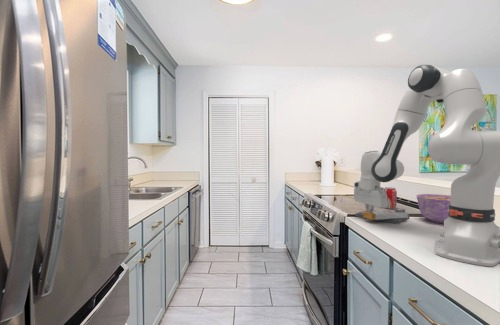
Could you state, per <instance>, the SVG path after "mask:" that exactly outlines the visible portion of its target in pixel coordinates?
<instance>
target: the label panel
mask: <svg viewBox="0 0 500 325" xmlns="http://www.w3.org/2000/svg"><path fill="white" fill-rule="evenodd" d="M363 211H366V209H365V210H362V211H359V212H356V213H355V215H354V217H356V218H363V219H365V218H364V217H363ZM373 211H377V210H375V209H373ZM409 219H410V215H409V214H408V218H395V219H379V220H377V221H380V222H384V223H391V224H397V225H398V224H401V223H403V222H404V221H407V220H409Z"/></svg>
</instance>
